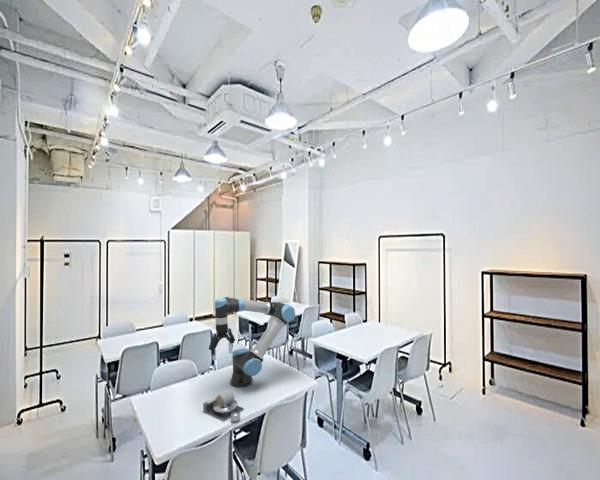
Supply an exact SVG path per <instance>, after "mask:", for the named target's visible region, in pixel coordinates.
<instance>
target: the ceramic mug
mask: <svg viewBox="0 0 600 480" xmlns="http://www.w3.org/2000/svg"><path fill="white" fill-rule="evenodd" d="M216 397H217V403H218V405H219V406H220V407H225V408H226V409H232V408H233V407H234V400H235V395H234V392H233V391H232V390H231V389H226V390H225V391H222V392H221V393H219V394H218V395H217V396H216ZM231 403H233V406H232V407H227V405H229V404H231Z"/></svg>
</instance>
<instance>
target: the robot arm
mask: <svg viewBox="0 0 600 480" xmlns="http://www.w3.org/2000/svg"><path fill="white" fill-rule="evenodd" d="M214 301H215V302H214V316H215V318H214V319H215V331H216V332H215V333H212V337H211V339H210V340H211V341H210V342H209V346H208V350H210V351H211V355H212V360H213V361H217V346H218V344H219V342H220V341H221V340H222V339H224V338H225V339H226V340H227V342H228V353H229V354H232V356H231V357H232V374H231V378H230V385H231V386H232V387H235V388H243V387H247V386H250V385H251V384H252V383H253V377H254V376H257V375H258V374H259V373H260V372H261V371H262V368H263V362H264V356H265V354H266V353H267V351H268V350H269V349H270V346H271V345H272V344H273V342H274V341H275V339H276V337H277V336H278V334H279V333H280V332H281V330H282V328H283V327H286V326H287V325H288V323H290V322H293V321H294V319H295V317H296V311H295V310H296V309H295V308H294V307H293V306H292V305H290V304H287V303H282V302H278V301H265V302H263V301H255V300H247V299H241V298H234V297H229V296H224V297H222V298H216V299H215V300H214ZM243 311H244V312H251V313H252V312H253V313H259V314H260V313H261V314H264V315H265V316H270V317H271V318H272V320H271V322H270V323H269V325H268V326H267V327H266V329H265V331H264V332H263V334H262V335H261V336H260V338H259V339H258V341H257V342H256V344H255V345H254V347H253V349H249V348H238V349H235V350H233V348H234V343H235V342H236V339H235V337H234V334H233V333H232V332H233V331H232V328H229V323H228V319H229V318H228V314H229V313H237V312H243Z"/></svg>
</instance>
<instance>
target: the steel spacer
mask: <svg viewBox="0 0 600 480" xmlns="http://www.w3.org/2000/svg"><path fill="white" fill-rule="evenodd" d="M240 421H241V412H239V411H234V412H232V413H231V418H230V422H231V423H232V424H236V423H240Z"/></svg>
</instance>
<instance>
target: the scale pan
mask: <svg viewBox="0 0 600 480" xmlns="http://www.w3.org/2000/svg"><path fill="white" fill-rule="evenodd" d="M232 406H233V403H231V404H229V405H227V407H232ZM237 406H238V401H237V400H235V399H234V407H233V408H232V409H226V408H225V407H220V406H219V405H218V403H217V402H216V403H214V405H213V410H214V411H216V412H229V411H232V410H234V409H235V408H236V407H237Z"/></svg>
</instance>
